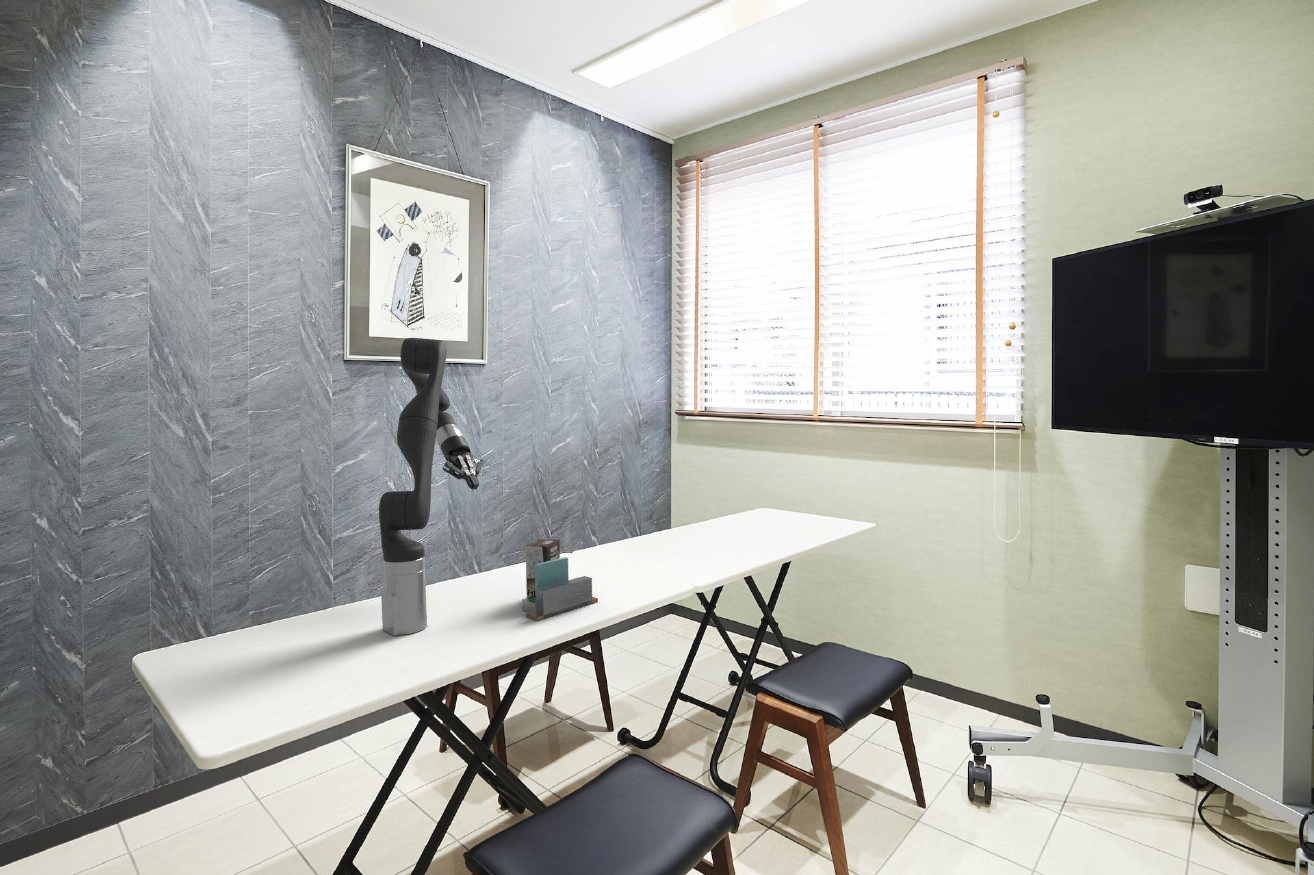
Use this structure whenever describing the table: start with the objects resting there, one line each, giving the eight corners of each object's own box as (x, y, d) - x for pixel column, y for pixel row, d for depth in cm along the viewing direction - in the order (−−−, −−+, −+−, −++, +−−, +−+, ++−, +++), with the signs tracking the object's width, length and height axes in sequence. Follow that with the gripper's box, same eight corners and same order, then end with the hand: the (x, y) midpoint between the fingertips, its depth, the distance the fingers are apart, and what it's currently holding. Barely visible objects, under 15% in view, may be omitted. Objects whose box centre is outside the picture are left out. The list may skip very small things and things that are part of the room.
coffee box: (548, 606, 172) (546, 546, 171) (525, 605, 173) (524, 545, 172) (562, 596, 180) (560, 539, 179) (540, 594, 182) (539, 538, 181)
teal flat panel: (530, 605, 166) (529, 567, 166) (527, 604, 167) (526, 566, 166) (568, 594, 175) (568, 557, 175) (566, 593, 176) (565, 557, 176)
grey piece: (537, 621, 160) (536, 593, 160) (514, 612, 167) (514, 586, 167) (598, 602, 175) (597, 576, 175) (575, 594, 181) (574, 570, 181)
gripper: (435, 435, 185) (459, 481, 178) (476, 433, 195) (500, 476, 187) (427, 453, 189) (449, 498, 182) (467, 450, 199) (491, 493, 191)
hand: (475, 487), depth 184 cm, fingers closed
